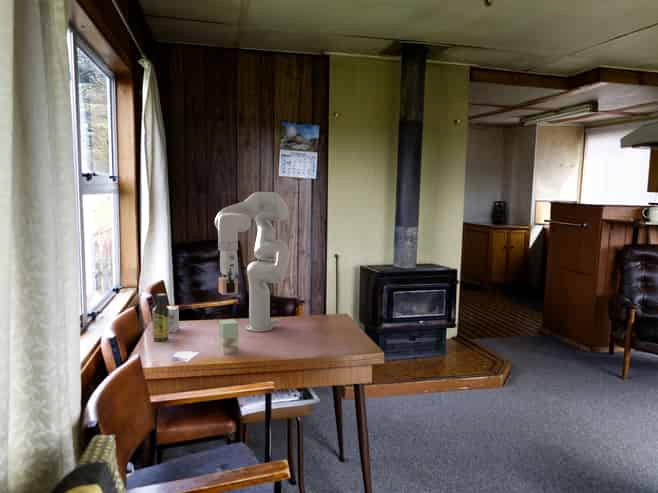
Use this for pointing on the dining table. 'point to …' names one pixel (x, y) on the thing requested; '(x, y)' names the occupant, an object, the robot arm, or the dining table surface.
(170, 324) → the light bulb box
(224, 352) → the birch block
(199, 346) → the dining table surface
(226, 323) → the sage block
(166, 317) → the sauce bottle
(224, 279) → the light brown cube
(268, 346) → the dining table surface
